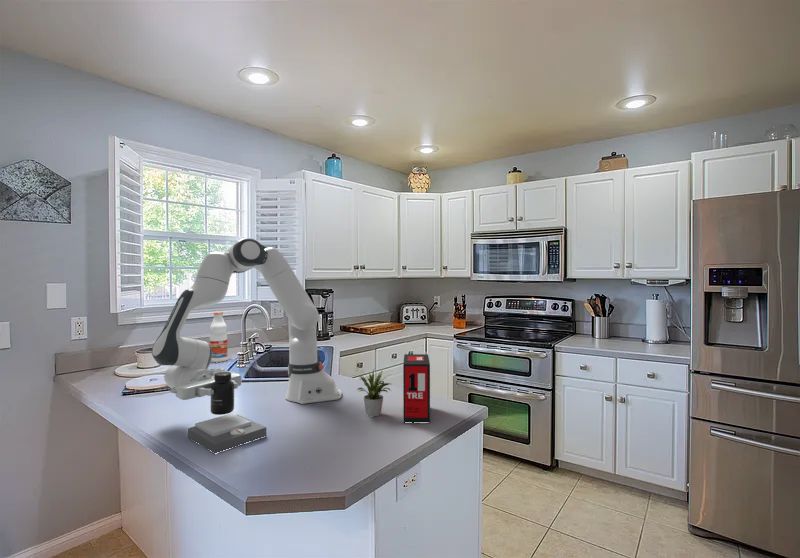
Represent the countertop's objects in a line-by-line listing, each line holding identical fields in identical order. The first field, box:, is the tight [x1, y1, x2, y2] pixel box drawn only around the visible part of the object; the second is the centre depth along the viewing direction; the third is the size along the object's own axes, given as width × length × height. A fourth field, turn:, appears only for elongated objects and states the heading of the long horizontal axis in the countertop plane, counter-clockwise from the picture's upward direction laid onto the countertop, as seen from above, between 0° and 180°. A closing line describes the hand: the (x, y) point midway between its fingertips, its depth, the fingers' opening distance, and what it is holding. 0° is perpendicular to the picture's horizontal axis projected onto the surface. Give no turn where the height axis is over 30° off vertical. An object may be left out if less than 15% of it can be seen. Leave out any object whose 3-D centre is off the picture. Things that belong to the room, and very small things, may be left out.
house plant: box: [351, 369, 392, 417], centre depth 145 cm, size 14×14×16 cm
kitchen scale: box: [187, 412, 267, 454], centre depth 126 cm, size 16×18×4 cm
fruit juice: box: [209, 311, 229, 363], centre depth 236 cm, size 9×9×28 cm
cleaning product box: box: [402, 353, 431, 424], centre depth 146 cm, size 16×9×20 cm, turn 178°
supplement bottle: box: [209, 371, 235, 416], centre depth 128 cm, size 7×7×12 cm
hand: (224, 389), depth 127 cm, fingers closed on supplement bottle, 7 cm apart
